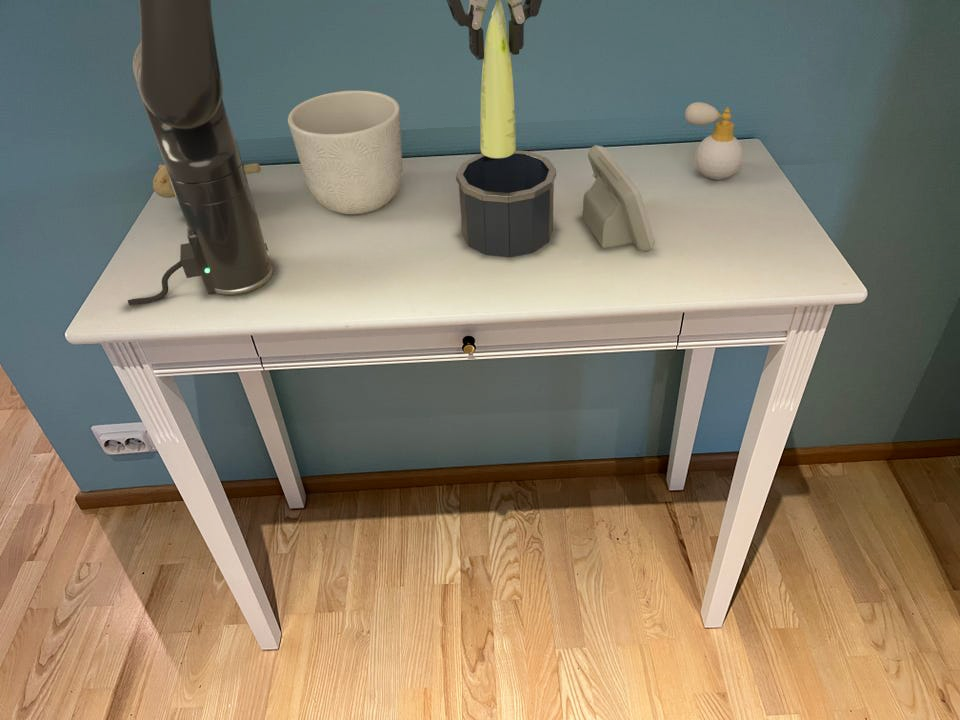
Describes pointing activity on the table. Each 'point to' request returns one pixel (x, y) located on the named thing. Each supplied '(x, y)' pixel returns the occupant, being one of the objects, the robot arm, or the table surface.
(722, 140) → the perfume bottle
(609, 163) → the digital clock
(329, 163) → the planter
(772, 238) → the table surface
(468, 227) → the pail
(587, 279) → the table surface
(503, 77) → the yellow elongated tapered cylinder
